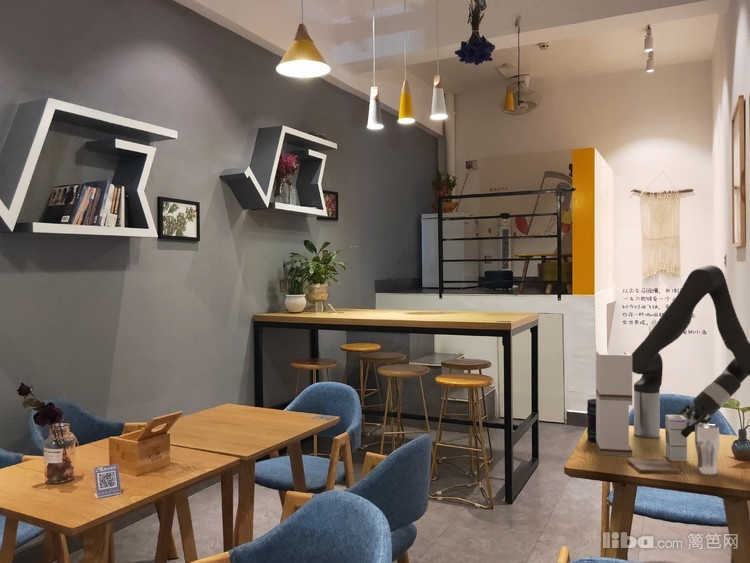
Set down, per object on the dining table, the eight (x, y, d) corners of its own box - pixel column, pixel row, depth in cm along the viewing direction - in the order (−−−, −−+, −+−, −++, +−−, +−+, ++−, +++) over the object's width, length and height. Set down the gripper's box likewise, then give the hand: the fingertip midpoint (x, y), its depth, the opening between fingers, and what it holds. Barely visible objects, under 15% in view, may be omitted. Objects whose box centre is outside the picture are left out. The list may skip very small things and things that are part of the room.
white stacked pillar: (632, 456, 214) (632, 355, 214) (599, 454, 217) (599, 354, 217) (626, 447, 226) (626, 351, 225) (596, 445, 228) (596, 350, 228)
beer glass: (711, 469, 200) (711, 422, 200) (724, 476, 193) (724, 428, 193) (690, 469, 200) (690, 423, 199) (702, 476, 193) (702, 428, 193)
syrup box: (687, 461, 208) (687, 418, 208) (669, 460, 209) (669, 417, 209) (683, 456, 214) (683, 414, 213) (664, 455, 215) (664, 414, 215)
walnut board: (626, 461, 208) (626, 458, 208) (663, 461, 208) (663, 459, 208) (640, 473, 196) (640, 469, 196) (678, 473, 196) (678, 470, 196)
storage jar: (619, 440, 234) (619, 401, 234) (606, 445, 228) (606, 405, 227) (595, 435, 242) (594, 397, 241) (582, 440, 235) (581, 401, 235)
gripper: (693, 387, 218) (660, 419, 218) (714, 395, 204) (678, 429, 204) (709, 402, 218) (676, 434, 218) (730, 411, 203) (695, 445, 204)
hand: (677, 432), depth 211 cm, fingers open, 8 cm apart
